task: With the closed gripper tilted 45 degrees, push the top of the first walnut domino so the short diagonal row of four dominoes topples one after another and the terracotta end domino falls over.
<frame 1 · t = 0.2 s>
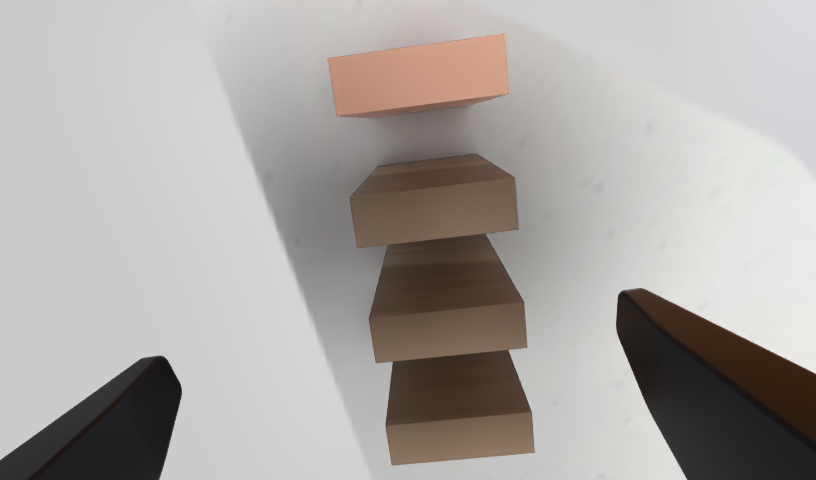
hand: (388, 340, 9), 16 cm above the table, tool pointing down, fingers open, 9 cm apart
domino 4: (419, 94, 23), on the table
domino 3: (428, 175, 24), on the table
domino 1: (445, 320, 26), on the table
domino 2: (437, 250, 25), on the table
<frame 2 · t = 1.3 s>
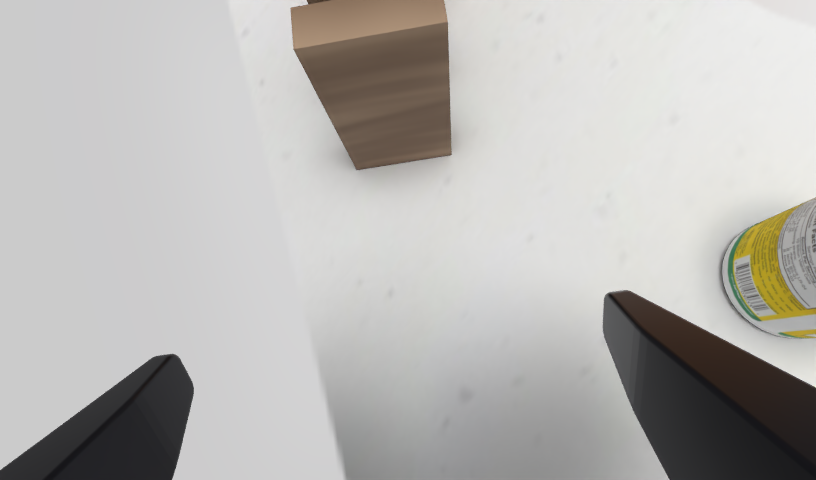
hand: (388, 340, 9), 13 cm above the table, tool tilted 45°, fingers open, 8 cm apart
domino 1: (401, 148, 25), on the table
supplement bottle: (778, 280, 22), on the table
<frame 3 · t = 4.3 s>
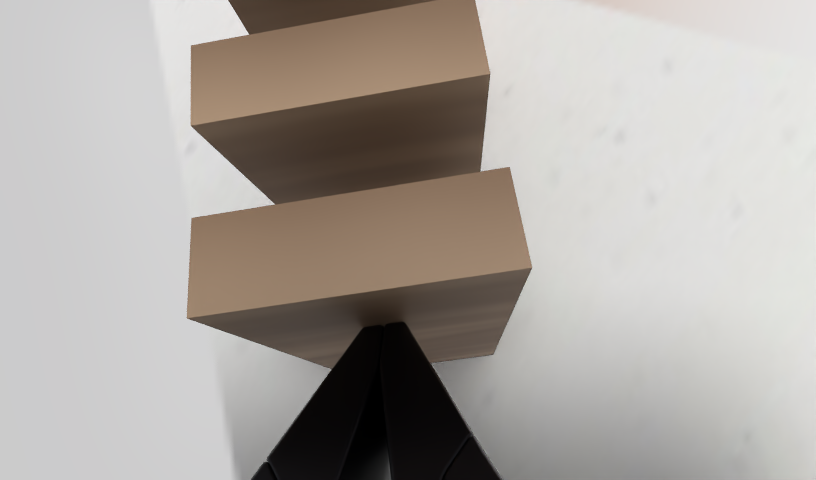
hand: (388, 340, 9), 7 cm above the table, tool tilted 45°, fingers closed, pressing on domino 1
domino 3: (389, 135, 19), on the table
domino 1: (416, 340, 16), on the table, touching gripper
domino 2: (402, 231, 18), on the table
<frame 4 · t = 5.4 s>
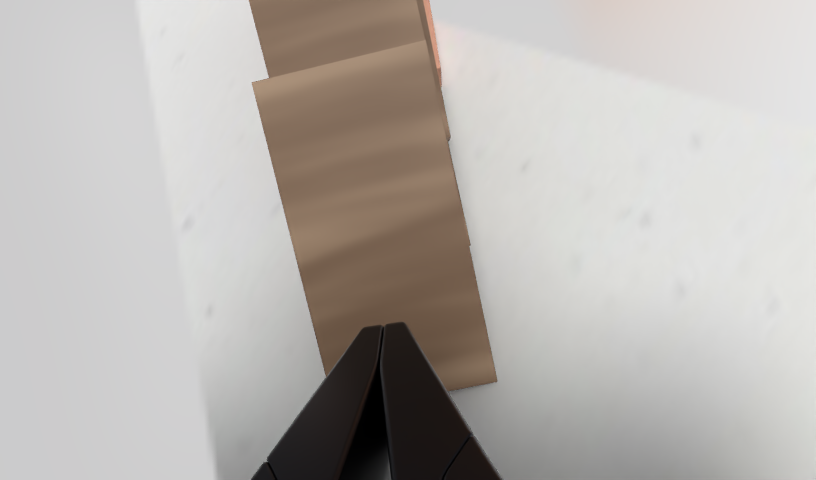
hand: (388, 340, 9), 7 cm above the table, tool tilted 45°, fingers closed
domino 4: (377, 91, 19), on the table, tilted 90°, touching domino 3
domino 3: (382, 154, 17), point 1 cm above the table, tilted 67°, touching domino 2, domino 4
domino 1: (416, 386, 15), point 1 cm above the table, tilted 67°, touching domino 2
domino 2: (396, 258, 16), point 1 cm above the table, tilted 67°, touching domino 1, domino 3
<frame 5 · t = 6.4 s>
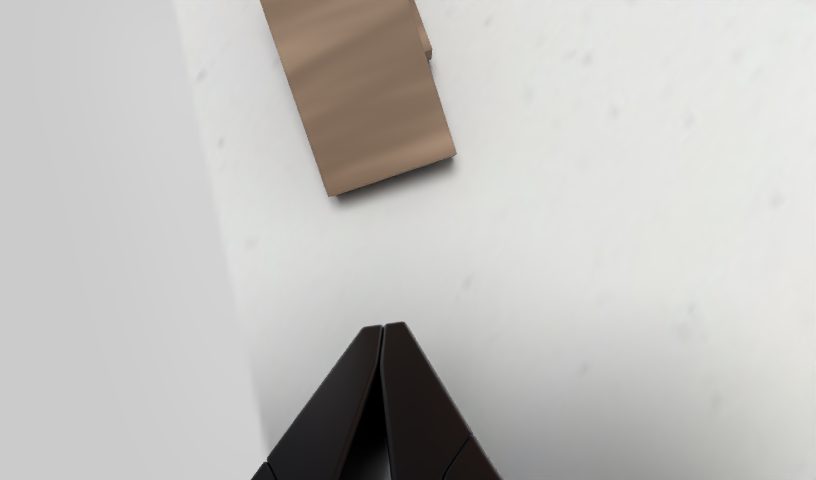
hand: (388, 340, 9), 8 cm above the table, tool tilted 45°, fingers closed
domino 1: (393, 175, 18), point 1 cm above the table, tilted 68°, touching domino 2
domino 2: (374, 77, 19), point 1 cm above the table, tilted 68°, touching domino 1, domino 3
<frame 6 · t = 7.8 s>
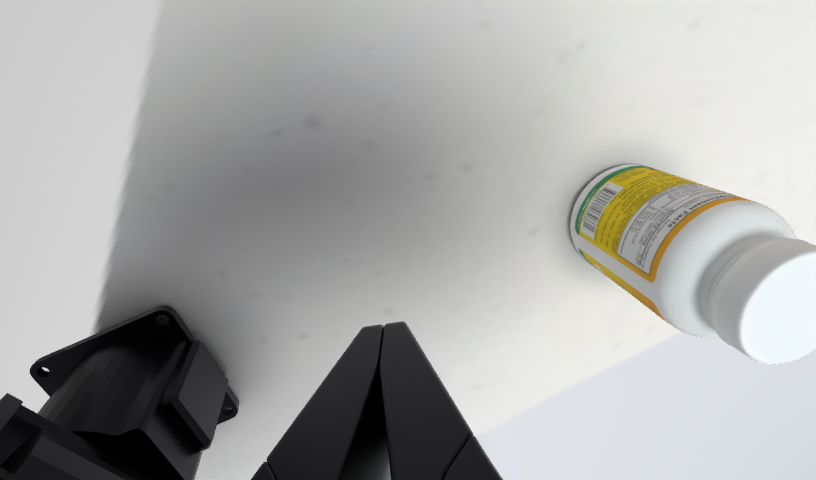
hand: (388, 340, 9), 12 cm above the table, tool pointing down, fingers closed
supplement bottle: (614, 215, 24), on the table
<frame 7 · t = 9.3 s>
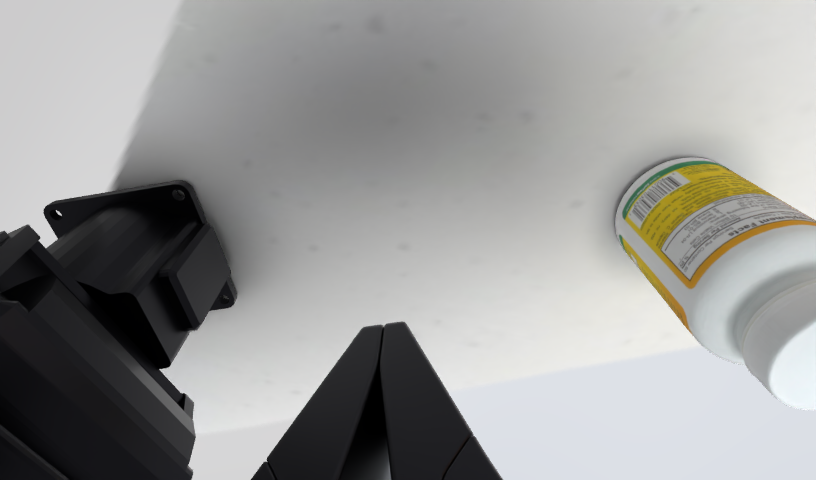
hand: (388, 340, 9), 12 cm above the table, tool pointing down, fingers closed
supplement bottle: (669, 209, 22), on the table
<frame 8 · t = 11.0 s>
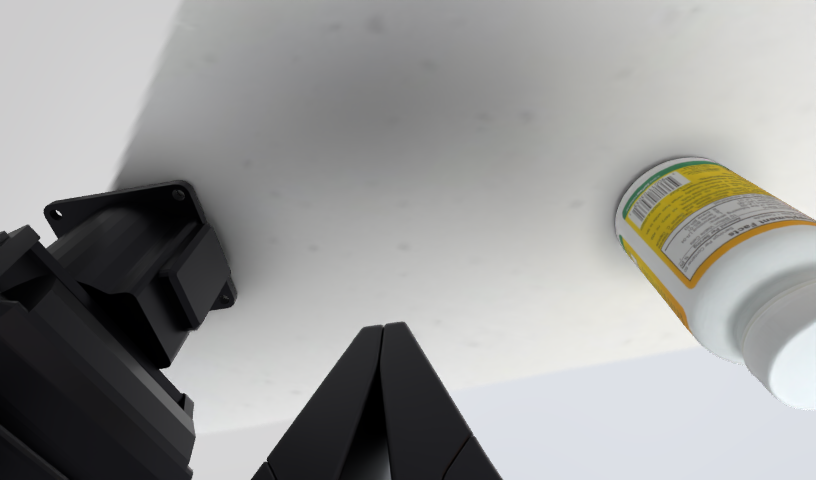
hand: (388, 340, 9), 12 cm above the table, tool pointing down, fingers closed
supplement bottle: (669, 209, 22), on the table
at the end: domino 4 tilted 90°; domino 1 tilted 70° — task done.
